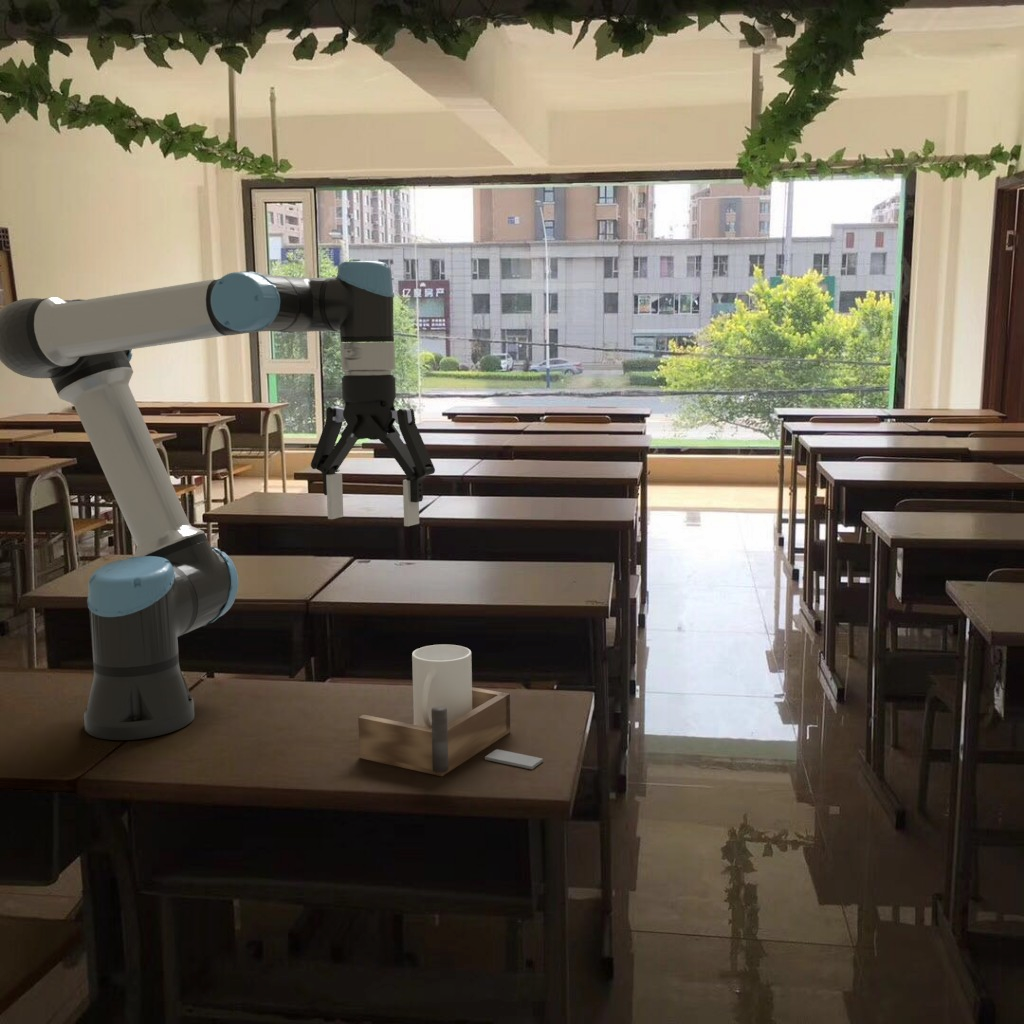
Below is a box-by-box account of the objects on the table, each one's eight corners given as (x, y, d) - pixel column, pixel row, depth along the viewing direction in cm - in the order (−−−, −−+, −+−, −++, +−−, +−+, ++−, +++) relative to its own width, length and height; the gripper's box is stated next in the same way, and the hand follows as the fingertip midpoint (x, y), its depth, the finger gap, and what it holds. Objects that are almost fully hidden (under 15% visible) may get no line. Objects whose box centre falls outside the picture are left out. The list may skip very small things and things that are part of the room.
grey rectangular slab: (485, 759, 141) (485, 756, 141) (496, 751, 144) (496, 749, 144) (531, 769, 138) (531, 766, 138) (542, 761, 141) (542, 758, 141)
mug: (450, 760, 140) (448, 671, 138) (391, 752, 143) (388, 665, 141) (483, 729, 151) (482, 646, 149) (428, 722, 154) (426, 641, 152)
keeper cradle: (357, 758, 142) (355, 696, 141) (433, 717, 158) (431, 660, 156) (442, 778, 136) (441, 712, 134) (512, 732, 151) (512, 673, 150)
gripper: (282, 373, 155) (289, 518, 158) (427, 374, 143) (430, 532, 146) (316, 371, 161) (321, 511, 165) (457, 373, 149) (459, 523, 153)
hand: (372, 521), depth 156 cm, fingers open, 13 cm apart
